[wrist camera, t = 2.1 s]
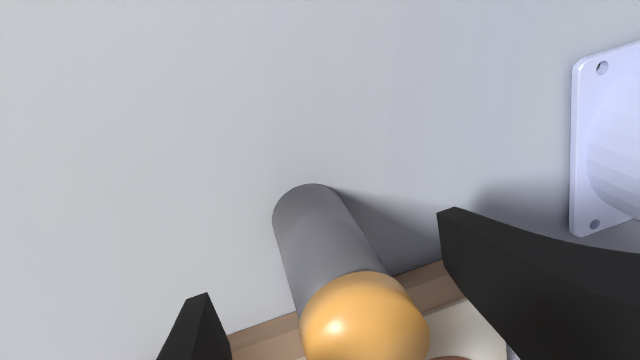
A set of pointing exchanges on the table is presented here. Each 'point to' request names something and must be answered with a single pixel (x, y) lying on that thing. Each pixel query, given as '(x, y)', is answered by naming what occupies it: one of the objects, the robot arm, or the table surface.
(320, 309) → the grey and orange cylinder
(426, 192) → the table surface
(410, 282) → the drawing board
